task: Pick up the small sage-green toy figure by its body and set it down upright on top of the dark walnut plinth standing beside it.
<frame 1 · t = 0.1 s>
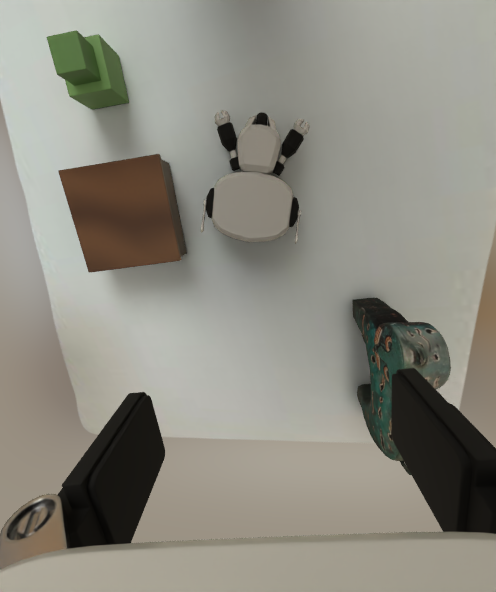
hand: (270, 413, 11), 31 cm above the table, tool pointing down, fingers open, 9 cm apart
robot toy: (255, 182, 38), on the table
green toy: (105, 83, 35), on the table
ceramic cat: (367, 348, 44), on the table
walnut plinth: (136, 216, 40), on the table
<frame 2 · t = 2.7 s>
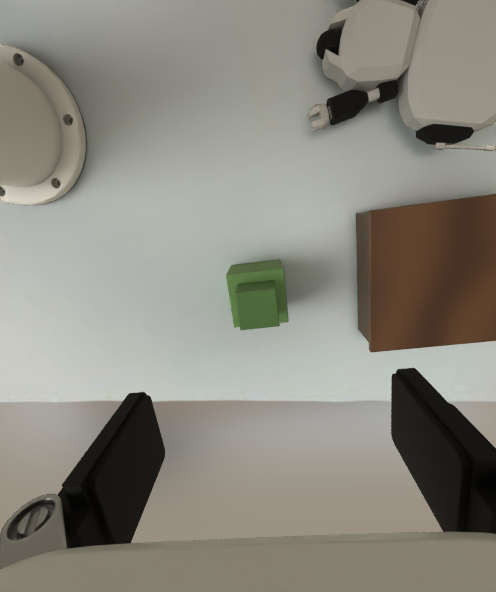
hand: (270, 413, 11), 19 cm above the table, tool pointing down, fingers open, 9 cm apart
robot toy: (401, 69, 24), on the table
green toy: (258, 286, 29), on the table
walnut plinth: (419, 267, 28), on the table
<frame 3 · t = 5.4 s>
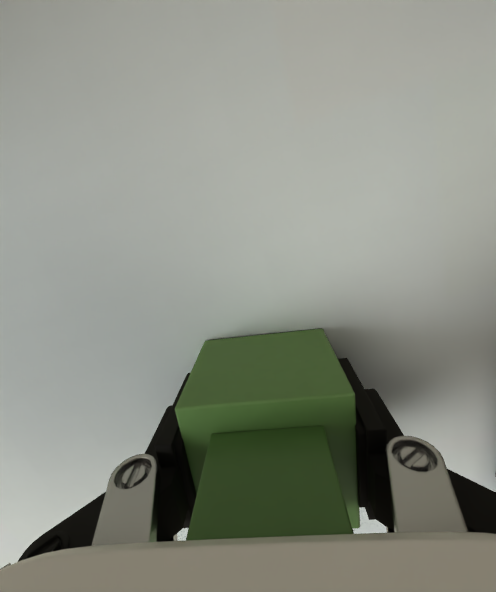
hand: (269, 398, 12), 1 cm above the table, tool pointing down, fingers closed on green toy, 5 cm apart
green toy: (269, 385, 13), on the table, touching gripper
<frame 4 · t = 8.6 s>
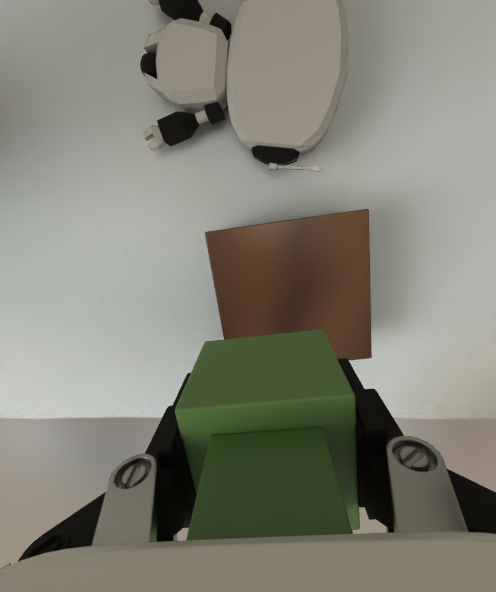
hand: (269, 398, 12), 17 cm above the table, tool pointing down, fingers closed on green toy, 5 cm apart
robot toy: (242, 89, 23), on the table
green toy: (269, 386, 13), point 16 cm above the table, touching gripper
walnut plinth: (287, 284, 28), on the table
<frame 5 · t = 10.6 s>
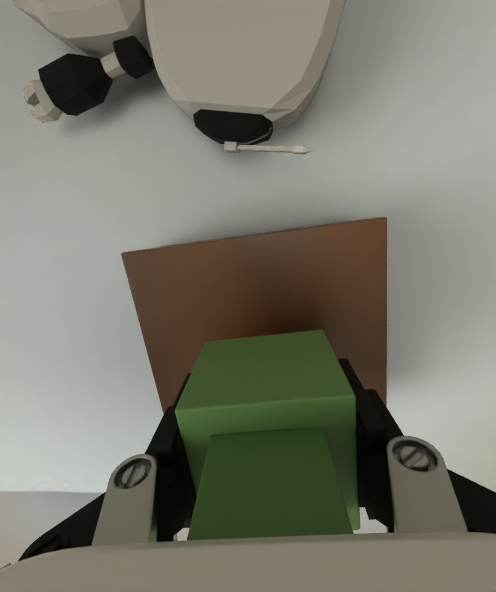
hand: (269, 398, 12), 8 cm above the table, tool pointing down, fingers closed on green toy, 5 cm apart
robot toy: (186, 27, 15), on the table
green toy: (269, 386, 13), point 7 cm above the table, touching gripper
walnut plinth: (264, 323, 19), on the table
when the fingers open (5 cm above the table, at t = 11.8 s): green toy stays where it is, resting on walnut plinth.
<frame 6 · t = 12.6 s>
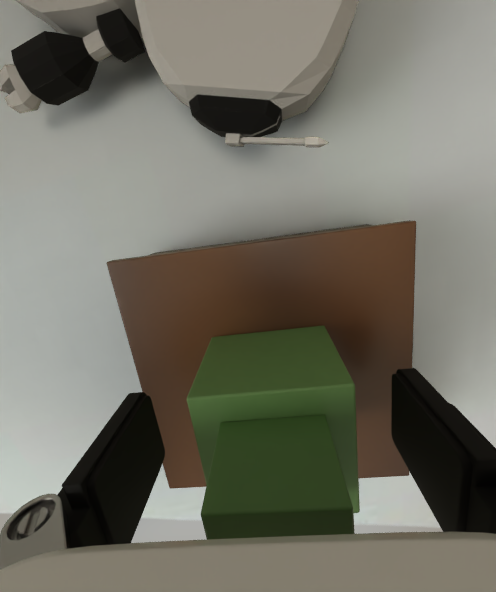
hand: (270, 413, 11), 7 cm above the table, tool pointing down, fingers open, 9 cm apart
robot toy: (183, 4, 13), on the table
green toy: (273, 379, 13), point 4 cm above the table, touching walnut plinth
walnut plinth: (269, 337, 18), on the table
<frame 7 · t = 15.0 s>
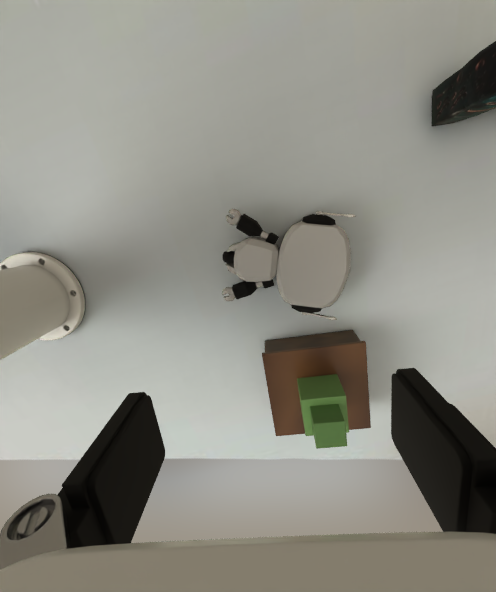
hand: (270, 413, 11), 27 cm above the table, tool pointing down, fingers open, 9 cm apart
robot toy: (283, 258, 37), on the table
green toy: (318, 392, 37), point 4 cm above the table, touching walnut plinth
walnut plinth: (312, 373, 41), on the table
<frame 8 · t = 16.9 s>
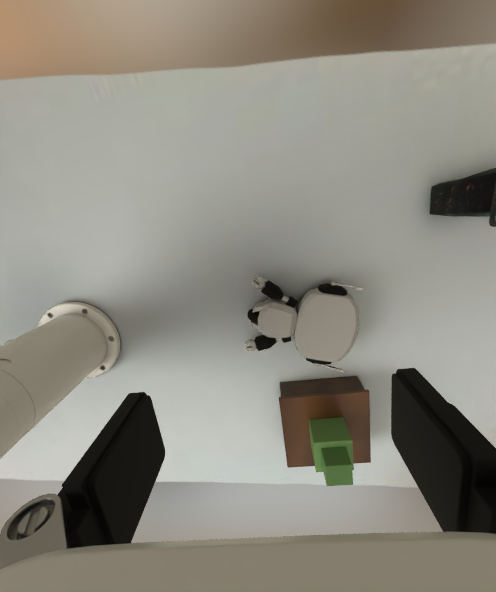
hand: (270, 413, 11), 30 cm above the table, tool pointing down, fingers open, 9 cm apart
robot toy: (298, 314, 42), on the table
green toy: (326, 432, 42), point 4 cm above the table, touching walnut plinth
walnut plinth: (320, 411, 46), on the table
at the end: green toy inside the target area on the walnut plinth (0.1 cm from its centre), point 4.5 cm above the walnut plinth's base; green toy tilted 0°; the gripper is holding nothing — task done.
